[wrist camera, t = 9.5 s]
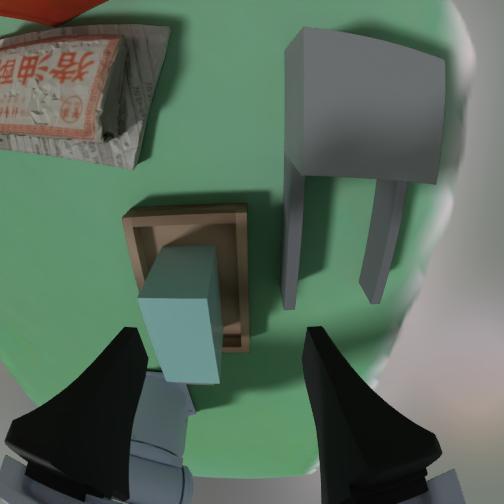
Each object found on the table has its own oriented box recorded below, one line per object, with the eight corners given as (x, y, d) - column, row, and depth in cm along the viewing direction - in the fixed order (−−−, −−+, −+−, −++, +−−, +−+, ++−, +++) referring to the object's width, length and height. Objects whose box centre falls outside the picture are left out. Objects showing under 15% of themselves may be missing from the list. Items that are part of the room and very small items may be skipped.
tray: (249, 337, 26) (249, 352, 24) (161, 336, 26) (157, 350, 24) (246, 202, 19) (246, 212, 18) (130, 208, 19) (121, 218, 18)
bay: (367, 281, 23) (394, 329, 18) (279, 285, 23) (289, 340, 18) (393, 66, 14) (445, 60, 9) (284, 50, 14) (303, 27, 9)
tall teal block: (224, 338, 25) (221, 393, 20) (181, 337, 25) (170, 391, 20) (216, 245, 20) (206, 298, 15) (161, 246, 20) (137, 297, 15)
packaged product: (-51, 158, 11) (-37, 42, 7) (-17, 144, 16) (-1, 42, 11) (114, 186, 14) (155, 9, 9) (142, 166, 18) (176, 30, 14)
